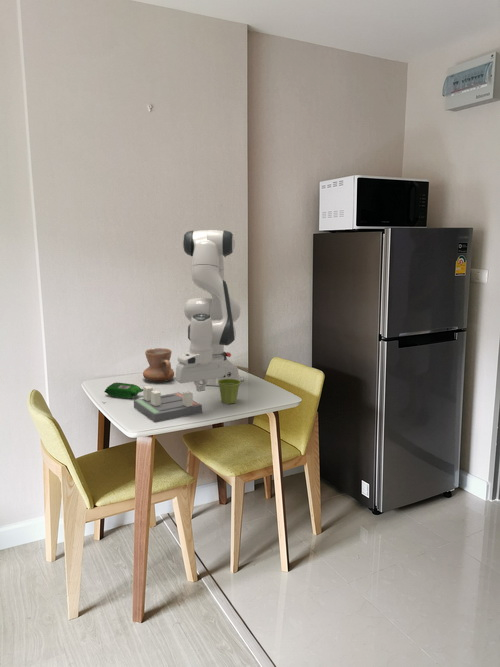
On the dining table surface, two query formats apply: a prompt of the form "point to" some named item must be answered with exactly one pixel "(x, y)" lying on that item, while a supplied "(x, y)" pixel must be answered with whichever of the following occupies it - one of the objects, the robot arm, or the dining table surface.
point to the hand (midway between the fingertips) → (200, 390)
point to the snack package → (123, 390)
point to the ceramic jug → (158, 365)
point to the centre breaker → (155, 398)
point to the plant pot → (229, 390)
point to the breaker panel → (167, 408)
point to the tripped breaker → (187, 398)
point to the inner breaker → (147, 393)
